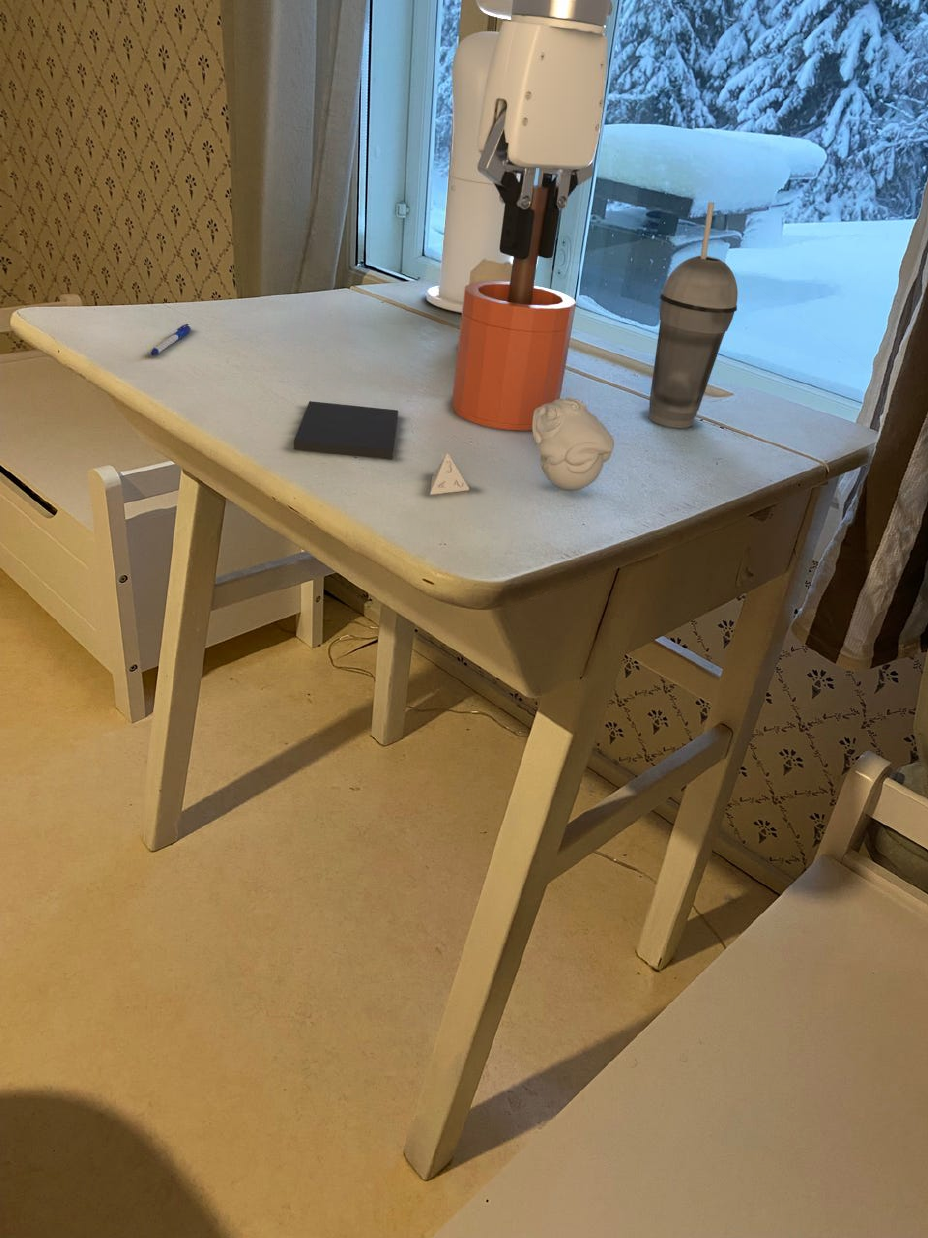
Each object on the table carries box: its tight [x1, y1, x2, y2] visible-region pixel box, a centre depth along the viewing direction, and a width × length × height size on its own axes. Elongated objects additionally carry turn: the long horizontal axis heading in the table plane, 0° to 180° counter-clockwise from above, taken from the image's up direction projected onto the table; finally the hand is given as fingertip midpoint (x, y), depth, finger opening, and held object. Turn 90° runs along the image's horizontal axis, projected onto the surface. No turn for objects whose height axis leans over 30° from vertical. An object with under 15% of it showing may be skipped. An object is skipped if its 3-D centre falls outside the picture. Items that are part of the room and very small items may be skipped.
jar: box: [451, 281, 577, 432], centre depth 87 cm, size 10×10×11 cm
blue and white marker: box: [150, 323, 192, 356], centre depth 96 cm, size 10×1×1 cm, turn 177°
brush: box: [507, 184, 548, 305], centre depth 84 cm, size 4×4×17 cm
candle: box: [469, 259, 512, 284], centre depth 105 cm, size 6×6×10 cm
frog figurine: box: [531, 397, 615, 491], centre depth 73 cm, size 6×7×7 cm
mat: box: [293, 400, 399, 460], centre depth 80 cm, size 10×8×1 cm
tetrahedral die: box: [429, 452, 470, 496], centre depth 71 cm, size 4×3×3 cm
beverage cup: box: [647, 201, 739, 429], centre depth 88 cm, size 7×7×20 cm
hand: (525, 253), depth 82 cm, fingers closed on brush, 2 cm apart
